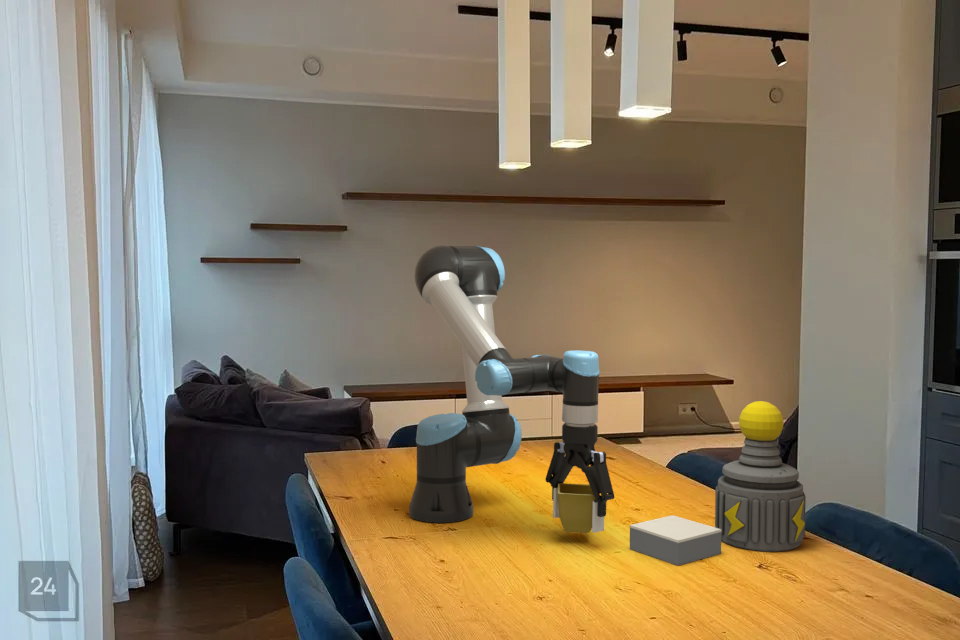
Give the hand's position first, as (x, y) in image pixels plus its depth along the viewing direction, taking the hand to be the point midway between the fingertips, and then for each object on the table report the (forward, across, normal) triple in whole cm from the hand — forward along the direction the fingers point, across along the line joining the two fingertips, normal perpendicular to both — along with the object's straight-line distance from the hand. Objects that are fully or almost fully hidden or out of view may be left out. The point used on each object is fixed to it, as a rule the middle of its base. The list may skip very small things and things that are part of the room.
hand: (577, 523), depth 185 cm
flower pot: (+2, 0, 0) cm, 2 cm away
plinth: (+3, -18, -11) cm, 21 cm away
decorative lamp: (+3, -22, -32) cm, 39 cm away
